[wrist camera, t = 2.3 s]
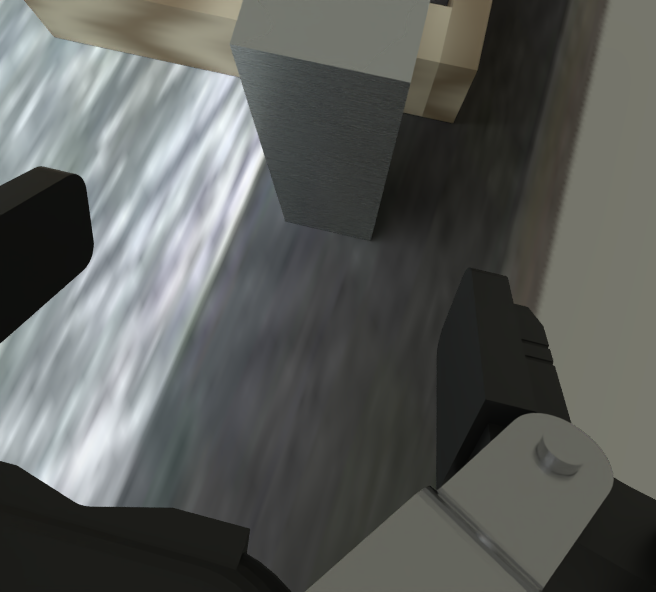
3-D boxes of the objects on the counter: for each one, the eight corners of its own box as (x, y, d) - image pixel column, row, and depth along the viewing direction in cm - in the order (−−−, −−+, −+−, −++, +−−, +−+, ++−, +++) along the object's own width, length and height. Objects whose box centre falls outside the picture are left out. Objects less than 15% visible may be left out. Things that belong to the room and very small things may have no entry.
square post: (285, 221, 22) (229, 44, 11) (306, 142, 23) (276, -109, 11) (370, 240, 22) (410, 82, 10) (389, 160, 23) (448, -75, 11)
